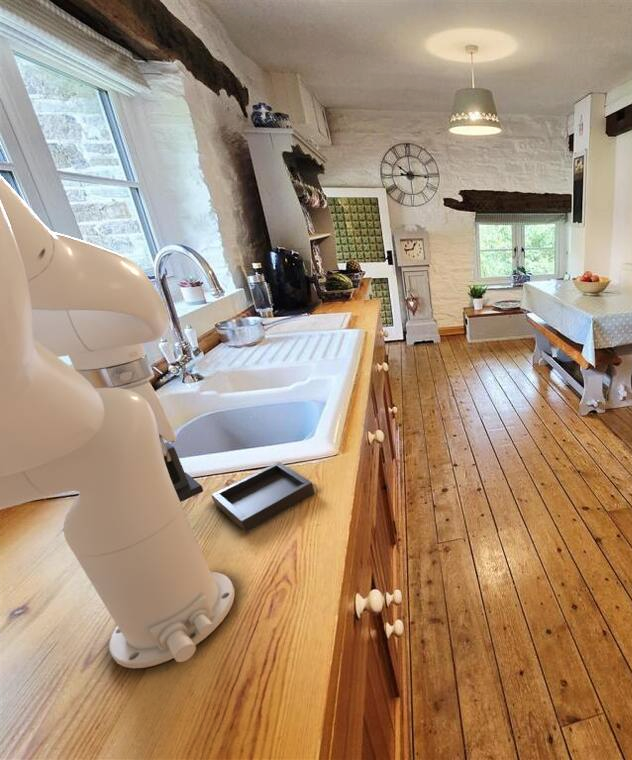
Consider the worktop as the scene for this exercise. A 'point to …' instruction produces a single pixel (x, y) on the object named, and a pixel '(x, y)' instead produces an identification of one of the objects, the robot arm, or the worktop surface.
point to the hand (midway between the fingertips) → (164, 480)
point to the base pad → (262, 495)
